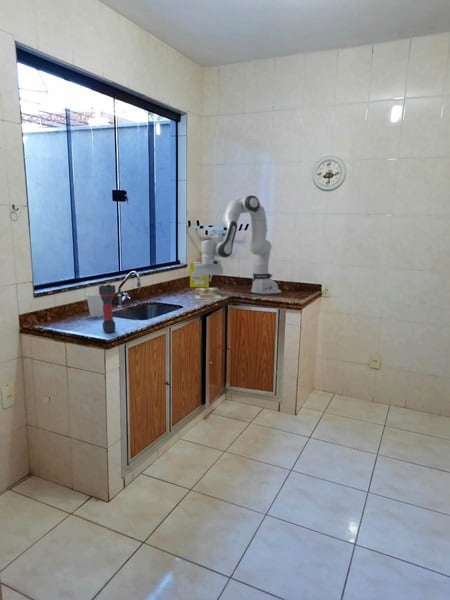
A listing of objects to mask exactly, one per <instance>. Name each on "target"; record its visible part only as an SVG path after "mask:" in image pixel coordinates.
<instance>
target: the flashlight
mask: <svg viewBox="0 0 450 600" xmlns="http://www.w3.org/2000/svg"><path fill="white" fill-rule="evenodd" d="M98 293H99V294H100V296H101V299H102V301H103V322H102V329H103V330H104V331H105V332H107V333H109V332H112V333H114V332H113V331H115V332H116V321H114V317H113V315H114V313H113V300H114V298H115V296H116V285H115V284H113V285H111V284H107V285H103V284H101V285H99V286H98ZM103 330H102V331H103ZM104 331H103V332H104ZM105 332H104V333H105Z"/></svg>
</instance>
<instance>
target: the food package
mask: <svg viewBox="0 0 450 600" xmlns="http://www.w3.org/2000/svg"><path fill="white" fill-rule="evenodd" d="M194 263H195V262H189V287H190V288H210V285H209V282H210V281H207V279H206V277H205V275H195V274H194ZM207 278H208V279H210V275H207Z"/></svg>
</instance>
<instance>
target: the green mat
mask: <svg viewBox="0 0 450 600" xmlns="http://www.w3.org/2000/svg"><path fill="white" fill-rule="evenodd" d="M194 298H195V300H217V299H218V300H219V299H220V300H221V299H223V297H222V296H221V295H220V294H219V295H213V298H200V295H196V294H195V295H194Z"/></svg>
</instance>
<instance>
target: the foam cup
mask: <svg viewBox="0 0 450 600" xmlns="http://www.w3.org/2000/svg"><path fill="white" fill-rule="evenodd" d="M85 297H86V301H87V305H88V310H89V314H90V315H89V316H90V317H91V316H93V317H95V316H102V317H103V316H104V307H103V301H102V299H101V296H100V294H99V292H89V293H86V296H85Z"/></svg>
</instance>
